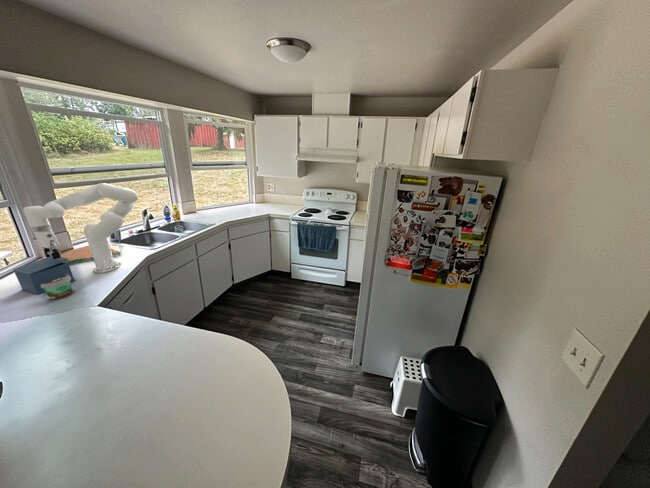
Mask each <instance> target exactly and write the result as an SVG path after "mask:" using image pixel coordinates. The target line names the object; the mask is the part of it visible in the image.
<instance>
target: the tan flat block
mask: <svg viewBox="0 0 650 488" xmlns="http://www.w3.org/2000/svg"><path fill="white" fill-rule="evenodd" d="M109 246H110V250H111V253H112V256H113V255H114V256H113V258H114V257H116V255H117V257H118V256H120V255H121V253H120V252H121V248H120V245H113V244H112V243H109ZM60 256H61V257H63V258H68V259H69V260H67V261H64V262H65V263H68V264H69V266H70V265H76V264H79V263H80V264H81V263H83V261H81V260H83V259H88V258H89V261H93V262H94V259H93V256H92V253H91V250H90V247H89V245H85V246H81V247H77V248H74V249H70V250H67V251H66V252H65V253H60ZM80 261H81V262H80ZM85 262H88V260H85Z"/></svg>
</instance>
